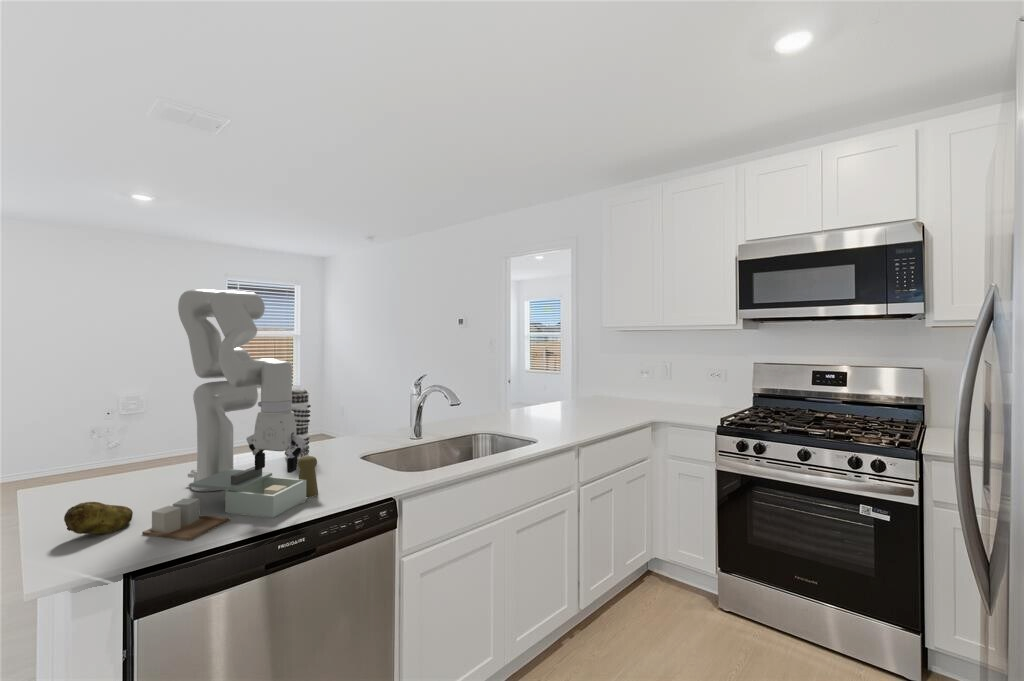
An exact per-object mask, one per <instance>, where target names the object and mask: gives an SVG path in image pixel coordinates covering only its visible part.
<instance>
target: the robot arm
mask: <svg viewBox="0 0 1024 681" xmlns="http://www.w3.org/2000/svg"><path fill="white" fill-rule="evenodd" d="M177 305H178V306H177V310H178V311H177V312H178V316H179V320H180V322H181V324H182V326H183V329H184V331H185V332H186V336H187V339H188V343H189V348H190V354H191V361H192V364H193V370H194V372H195V374H196V376H197V377H199V378H201V379H224V378H225V380H219V381H218V380H217V381H207V382H205V383H202V384H200V385H198V386H197V387H196V388H195V390H194V391H193V394H192V395H193V396H192V397H193V398H192V399H193V404H194V410H195V416H196V455H197V456H196V468H195V469H194V468H193V469H191V470H190V472H189V473H187V478H193V482H196V481H198V480H201V479H204V478H206V477H209V476H212V475H215V474H217V473H220V472H223V471H225V470H228V469H234V439H235V438H234V424H233V423H232V421H231V419H230V418H229V417H228V416H227V415H226V413H229V412H235V411H236V412H237V411H243V410H249V409H252V408H254V406H255V405H256V404H257V406H258V407H260V411H258V412H257V414H256V415H257V416H256V419H255V425H254V432H253V434H251V435H249V436H247V437H246V442H247V444H248V447H249V449H250V450H251V452H252V453H251V454H252V455H253V456H254V466H255V470H259V469H262V470H263V469H264V468H265V467H266V452H264V451H270V452H284V451H286V453H287V454H288V455H289V457H290V458H288V459H286V460H287V461H286V463H287V465H286V466H287V467H286V472H287V474H290V473H291V474H292V473H294V472H297V469H298V459H297V456H299V455H300V453H301V452H302V451H303V448H304V447H305V445H306V443H307V442H306V441H305V440H304V439H302V438H301V437H299V436H298V435H297V434H296V422H295V416H294V412H292V390H293V365H292V363H291V362H290V361H287V360H278V359H277V358H269V357H268V358H251V355H250V354H249V352H248V350H246V349H245V348H243V347H241V346H244V345H247V344H248V343H250V342H251V341H252V340H254V339H255V337H256V336H257V333H258V328H257V325H256V323H255V322H254V320H259V319H261V318H262V317H263V316H264V314H265V310H266V308H265V307H266V306H265V302H264V300H263V298H262V297H261V295H259V294H258V293H255V292H252V291H240V290H239V291H238V290H217V289H207V288H199V289H198V288H196V289H190V290H186V291H184V292H183V293H182V294H181V295H180V296H179V300H178V304H177ZM207 318H215V320H216V322H217V325H218V326H219V328H220V330H221V332H222V334H223V336H224V339H223V340H222V336H221V333H220V331H219V329H218V328H217V327H216V326H215V325H214V324H213V323H212V322H211V321H210V320H208V319H207ZM258 387H260V401H258V400H259V399H258V398H259V391H258ZM296 443H298V448H296V447H295V446H296ZM291 450H292V451H291ZM190 489H191V490H192V491H195V492H201V493H202V492H204V493H205V492H217V491H220V490H219V489H209V488H198V487H190Z"/></svg>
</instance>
